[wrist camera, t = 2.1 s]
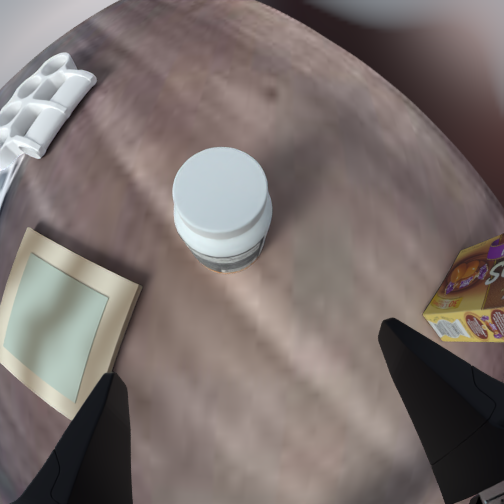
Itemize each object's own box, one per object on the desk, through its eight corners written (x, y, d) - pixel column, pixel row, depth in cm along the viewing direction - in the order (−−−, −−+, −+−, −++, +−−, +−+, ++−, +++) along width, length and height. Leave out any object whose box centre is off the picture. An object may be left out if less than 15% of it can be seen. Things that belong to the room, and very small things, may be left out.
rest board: (142, 286, 22) (138, 284, 21) (94, 429, 19) (89, 432, 18) (33, 229, 23) (27, 226, 22) (-4, 352, 20) (-11, 352, 18)
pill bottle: (206, 199, 24) (187, 127, 14) (272, 218, 24) (291, 153, 14) (182, 263, 23) (143, 222, 13) (251, 285, 23) (259, 258, 13)
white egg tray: (32, 187, 24) (-18, 163, 25) (115, 69, 28) (51, 67, 29) (15, 174, 21) (-31, 153, 22) (107, 51, 25) (43, 53, 26)
